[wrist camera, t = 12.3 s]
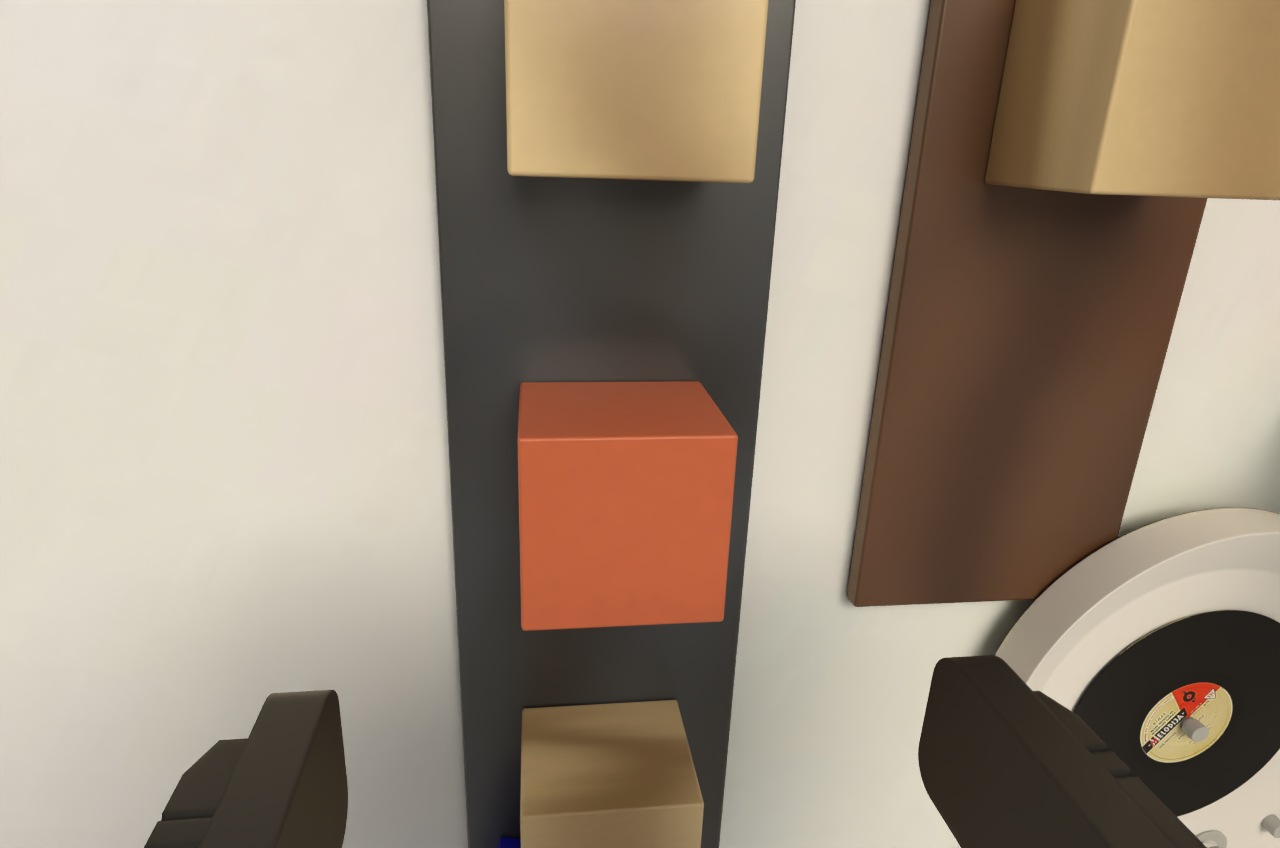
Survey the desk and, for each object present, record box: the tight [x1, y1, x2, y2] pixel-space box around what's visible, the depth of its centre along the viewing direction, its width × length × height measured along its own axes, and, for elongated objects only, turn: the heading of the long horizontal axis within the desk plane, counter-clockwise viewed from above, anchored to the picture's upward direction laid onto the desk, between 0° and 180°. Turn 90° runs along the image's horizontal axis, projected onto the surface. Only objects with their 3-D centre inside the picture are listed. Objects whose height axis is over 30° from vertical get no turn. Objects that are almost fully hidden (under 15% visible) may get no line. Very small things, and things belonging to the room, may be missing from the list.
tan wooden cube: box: [520, 700, 704, 848], centre depth 19 cm, size 4×4×4 cm
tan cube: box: [985, 0, 1280, 200], centre depth 15 cm, size 4×4×4 cm
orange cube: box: [518, 381, 738, 631], centre depth 16 cm, size 4×4×4 cm
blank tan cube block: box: [504, 0, 768, 183], centre depth 14 cm, size 4×4×4 cm
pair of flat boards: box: [427, 0, 1207, 848], centre depth 19 cm, size 17×24×1 cm
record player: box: [995, 508, 1280, 848], centre depth 23 cm, size 12×3×20 cm
